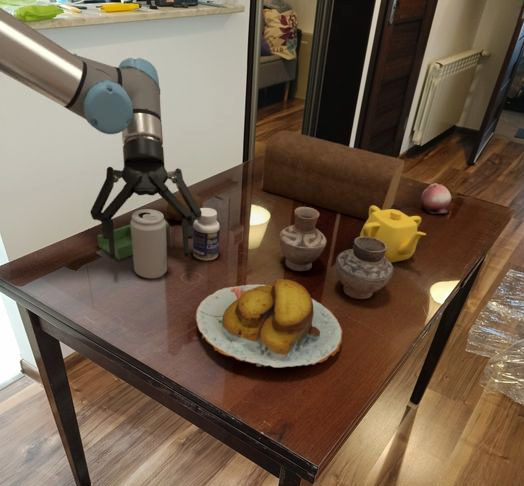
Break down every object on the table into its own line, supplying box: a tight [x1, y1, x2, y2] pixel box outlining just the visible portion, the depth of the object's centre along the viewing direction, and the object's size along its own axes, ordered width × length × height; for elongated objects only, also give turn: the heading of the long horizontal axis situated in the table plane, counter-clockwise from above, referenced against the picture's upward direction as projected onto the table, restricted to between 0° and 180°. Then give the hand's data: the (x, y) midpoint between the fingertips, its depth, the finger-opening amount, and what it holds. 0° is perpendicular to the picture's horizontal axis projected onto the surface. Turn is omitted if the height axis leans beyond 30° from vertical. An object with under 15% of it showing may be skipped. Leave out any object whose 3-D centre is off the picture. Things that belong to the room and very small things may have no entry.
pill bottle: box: [192, 207, 221, 262], centre depth 100 cm, size 5×5×10 cm
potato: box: [166, 193, 204, 222], centre depth 112 cm, size 7×10×6 cm
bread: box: [261, 129, 405, 221], centre depth 127 cm, size 14×34×14 cm, turn 64°
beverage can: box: [129, 208, 168, 280], centre depth 92 cm, size 6×6×12 cm
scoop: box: [96, 220, 169, 261], centre depth 103 cm, size 16×7×3 cm, turn 139°
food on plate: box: [194, 278, 344, 368], centre depth 83 cm, size 25×25×7 cm
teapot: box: [359, 206, 427, 263], centre depth 108 cm, size 14×13×10 cm
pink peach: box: [420, 182, 452, 215], centre depth 131 cm, size 8×8×7 cm
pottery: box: [278, 206, 395, 300], centre depth 97 cm, size 11×25×12 cm, turn 54°
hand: (150, 255), depth 91 cm, fingers open, 13 cm apart
